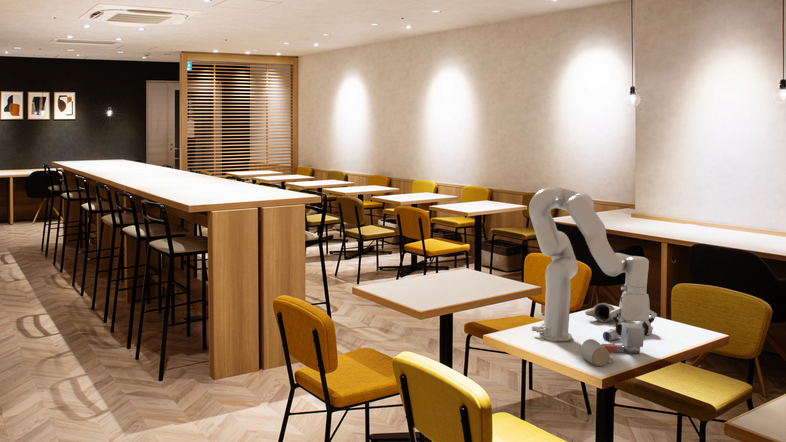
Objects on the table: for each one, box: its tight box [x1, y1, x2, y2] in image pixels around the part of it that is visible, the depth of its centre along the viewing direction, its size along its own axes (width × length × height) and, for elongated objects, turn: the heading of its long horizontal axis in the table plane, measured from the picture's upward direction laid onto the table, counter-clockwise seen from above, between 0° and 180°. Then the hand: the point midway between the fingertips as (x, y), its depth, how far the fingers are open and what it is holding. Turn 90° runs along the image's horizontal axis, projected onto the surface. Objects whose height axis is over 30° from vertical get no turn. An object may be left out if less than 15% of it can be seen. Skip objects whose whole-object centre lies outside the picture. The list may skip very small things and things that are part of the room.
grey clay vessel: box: [584, 302, 626, 323], centre depth 266 cm, size 16×9×15 cm
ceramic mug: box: [579, 338, 614, 367], centre depth 213 cm, size 11×8×8 cm
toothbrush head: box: [602, 321, 654, 342], centre depth 244 cm, size 5×7×25 cm
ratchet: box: [601, 342, 641, 356], centre depth 226 cm, size 14×6×8 cm, turn 91°
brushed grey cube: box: [620, 322, 645, 348], centre depth 225 cm, size 6×6×7 cm
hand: (631, 334), depth 225 cm, fingers open, 9 cm apart
